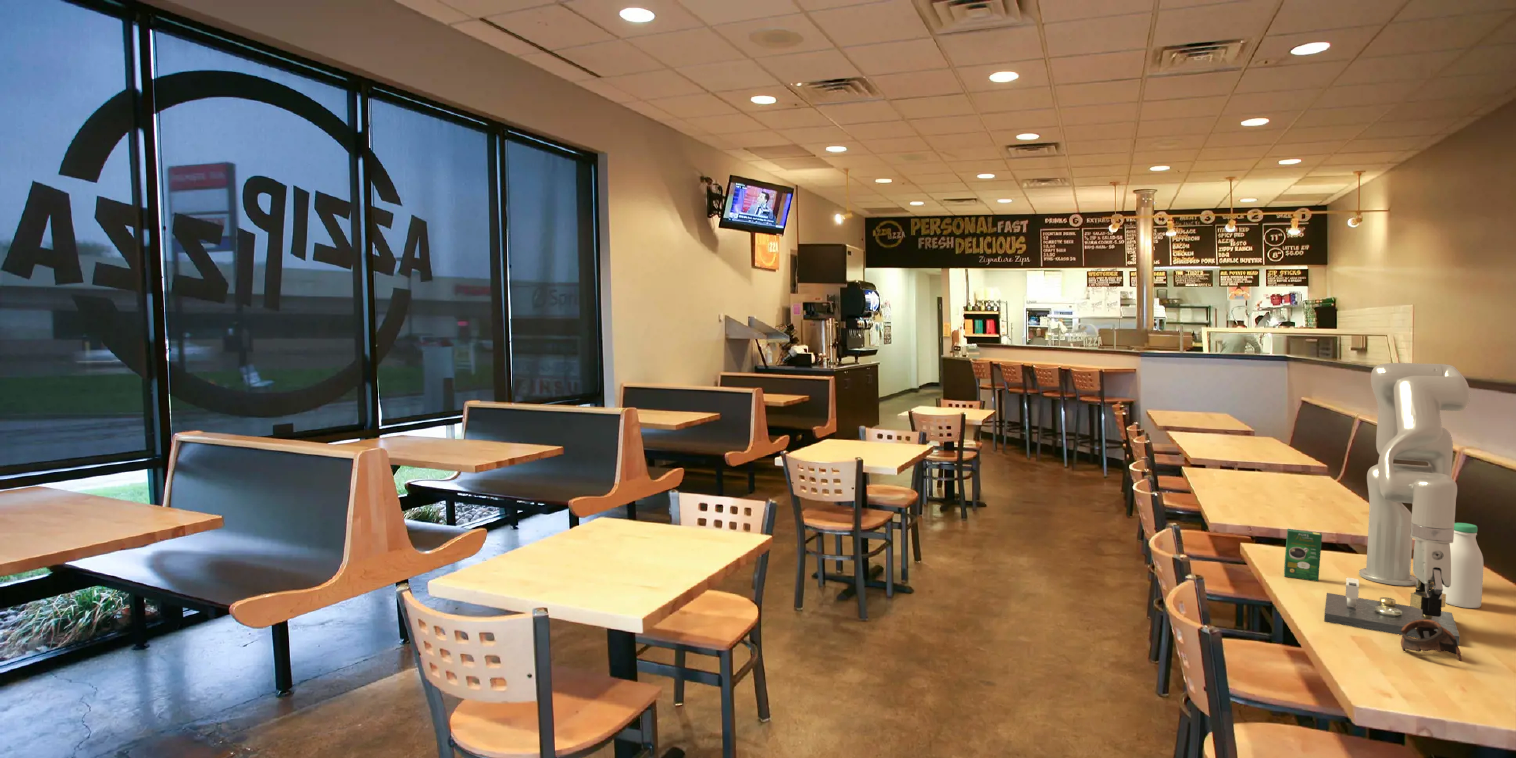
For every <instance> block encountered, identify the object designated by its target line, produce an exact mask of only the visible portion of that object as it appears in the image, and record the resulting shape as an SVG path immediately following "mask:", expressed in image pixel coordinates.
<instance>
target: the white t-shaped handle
mask: <svg viewBox="0 0 1516 758" xmlns="http://www.w3.org/2000/svg"><path fill="white" fill-rule="evenodd" d="M1345 580H1346V581H1345V596H1346V598H1347V606H1351V607H1356V599H1358V598H1359V592H1360V591H1359V589H1360V588H1359V587H1360V581H1359V580H1360V579H1359V578H1353V577H1346V579H1345Z"/></svg>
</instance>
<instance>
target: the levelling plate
mask: <svg viewBox="0 0 1516 758" xmlns="http://www.w3.org/2000/svg"><path fill="white" fill-rule="evenodd" d="M1396 602H1397V601H1396V599H1394V598H1392V597H1388V596H1381V597H1379V600H1375V599H1374V600H1373V599H1369V598H1362V597H1358V599H1356V607H1351V606H1347V598H1346V595H1342V594H1336V593H1331V592H1326V598H1325V606H1324V617H1323V618H1324V620H1323V621H1324V622H1325V623H1331V624H1337V625H1343V626H1347V627H1354V628H1359V629H1364V630H1369V631H1376V632H1380V633H1387V634H1391V635H1397V634H1399V636H1402V635H1403V633H1402V632H1401V630H1402V628H1403V627H1404V626H1405V625H1406V624H1408V623H1410V622H1412V621H1416V620H1421V619H1424V618H1422V609H1418V608H1415V607H1412V606H1410V605H1405V604H1399V603H1396ZM1453 615H1454V614H1453V613H1452V612H1449V611H1444V610H1443V611H1442V610H1441V616H1440V617H1436V616H1432V619H1427V620H1432V621H1435V622H1437V623H1439V624H1440V625H1441V626H1442V627H1443V628H1445V629H1447V630H1448V631H1449V632H1451V633H1452V635H1453V636H1454V637H1455V639H1456V641H1457V645H1458V646H1460V639H1461V638H1460V637H1461V635H1460V633H1459V630H1458V627H1457V625H1456V621H1455V619H1454V616H1453ZM1434 631H1437V632H1438V629H1434ZM1406 635H1407V636H1408V637H1411V638H1414V637H1415V639H1420V637H1419V635H1418V633H1417V631H1416V628H1414V629H1412V630H1410V631H1409V632H1408V633H1407V634H1406Z"/></svg>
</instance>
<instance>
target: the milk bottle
mask: <svg viewBox="0 0 1516 758" xmlns="http://www.w3.org/2000/svg"><path fill="white" fill-rule="evenodd" d="M1477 536H1478V526H1477V525H1476V524H1472V523H1467V522H1455V524H1454V539H1453V543H1449V544H1450V550H1451V586H1450V587H1445V586H1444V585H1443V584H1442V586H1443V591H1442V593H1444V594H1446V603H1445V604H1447V605H1450V606H1455V607H1459V608H1463V609H1464V608H1465V609H1479V608H1480V607H1481V606H1482V599H1483V585H1484V584H1483V581H1484V556H1483V553H1482V551H1481V549H1480V547H1479V545H1478V542H1477V539H1476V537H1477Z"/></svg>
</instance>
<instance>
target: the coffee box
mask: <svg viewBox="0 0 1516 758" xmlns="http://www.w3.org/2000/svg"><path fill="white" fill-rule="evenodd" d="M1285 541H1286V542H1285V543H1286V544H1285V555H1284V570H1283V574H1284V575H1283V576H1284V577H1285V578H1286V577H1287V578H1291V579H1299V580H1306V581H1313V582H1319V580H1320V576H1319V575H1320V561H1321V553H1322V541H1323V535H1322V533H1321V532H1316V531H1308V530H1299V529H1292V528H1287V529H1286V540H1285Z"/></svg>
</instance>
